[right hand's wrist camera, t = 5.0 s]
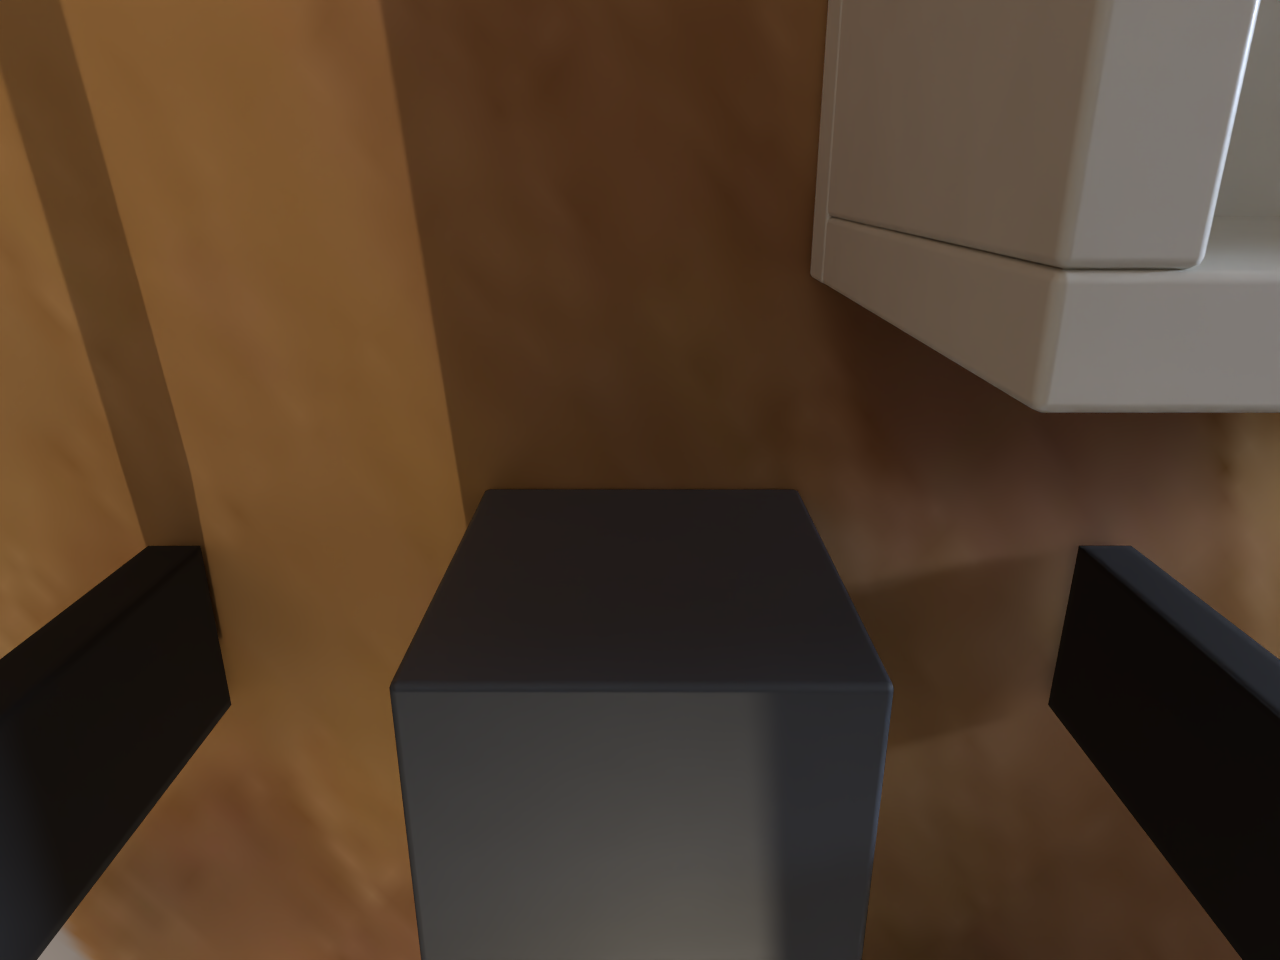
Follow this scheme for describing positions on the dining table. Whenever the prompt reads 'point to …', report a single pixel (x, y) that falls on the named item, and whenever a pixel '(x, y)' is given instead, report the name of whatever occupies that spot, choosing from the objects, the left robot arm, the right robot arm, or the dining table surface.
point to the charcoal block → (641, 734)
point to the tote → (1062, 193)
